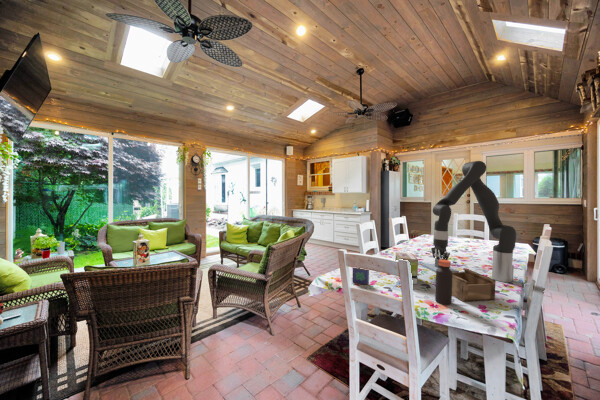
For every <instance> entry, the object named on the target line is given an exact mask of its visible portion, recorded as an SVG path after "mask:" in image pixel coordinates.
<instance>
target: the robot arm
mask: <svg viewBox="0 0 600 400" xmlns="http://www.w3.org/2000/svg"><path fill="white" fill-rule="evenodd" d="M461 171H462V175H463V176H464V177H463V178H462V179H461V180H459V181H458V182H457V183H456V184H455V185H453V186H452V187H451V188H450V189H449V190H448V191H447V193H446V194H445V195H444V197H443V198H441V199H439V201H437V202H436V204H434V206H433V207H432V214H433V215H435V216H438V219H437V220H435V221H434V229H433V239H432V240H433V242H432V244H433V246H434V247H431V253H432V257H433V259H434V260H435V259H440V260H448V261H449V257H450V255H451V253H450V252H448V250H447V248H448V246H449V222H450V220H451V216H452V208H451V206H454V205H455V204H457V203H458V201H459V200H460V198H461V197H462V196H463V195H464V194H465V192H466V191H467V190H468V189H469V188H471V191H472V192H473V194H474V197H475V198H476V200H477V203H478V205H479V207H480V210H481V211H482V214H483V217H484V218H485V220H486V223H487V226H488V229H489V231H490V234H491V236H492V237H493V238H495V239H497V240H498V243H497V244H496V245H493V247H492V248H493V249H492V264H491V265H492V267H491V279H494V280H496V281H497V282H503V283H512V282H513V281H514V271H515V270H514V269H515V268H514V267H515V266H514V265H513V261H514V260H513V258H514V257H513V255H514V250H515V248H516V241H517V232H516V229H515V227H513V226H511V225H506V224H503V222H502V220H501V219H500V216H499V209H500V204H499V200H498V198H497V196H496V194H495V193H494V191H493V190H492V189H491V188H490V187H488V186H487V184H485V183H484V182H483V181H482V179H481V177H483V176H484V174H485V173H486V171H487V165H486V163H485V162H484V161H483V160H474V161H473V160H472V161H469V162H465V163H464V164H463V165H462V167H461Z"/></svg>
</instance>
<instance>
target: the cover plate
mask: <svg viewBox="0 0 600 400" xmlns="http://www.w3.org/2000/svg"><path fill="white" fill-rule="evenodd" d="M439 260H440V259H435V258H434V263H421V267H424V268H426V269H428V270H430V271H432V272H434V273H435V274H436V270H437V269H438V268H439ZM450 270H451V271H452V273H453V272H460V270H458V269H455V268H453V267H451V266H450Z"/></svg>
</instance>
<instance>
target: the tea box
mask: <svg viewBox="0 0 600 400" xmlns="http://www.w3.org/2000/svg"><path fill="white" fill-rule="evenodd" d="M399 259H403V260H408V261H409V262H410V265H411V273H412V280H413V284H412V285H418V274H419V273H418V271H419V270H418V269H419V259H418V258H417V256H415V255H414V254H413V253H412V252H395V261H396V260H399ZM396 279H397V281H398V282H399V284H401V283H400V281H399V278H398V277H396Z"/></svg>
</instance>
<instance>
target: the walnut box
mask: <svg viewBox="0 0 600 400" xmlns="http://www.w3.org/2000/svg"><path fill="white" fill-rule="evenodd" d="M462 270H463V271H459V272H453V276H452V297H454V298H455V299H457V300H459V301H461V302H462V303H469V302H471V303H472V302H489V301H490V300H493V301H496V299H495V298H496V283H497V282H496V281H497V280H494V279H492V277H488V276H486V275H483V274H481V273H479V272H476V271H474V270H471V269H469V268H463V269H462Z"/></svg>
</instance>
